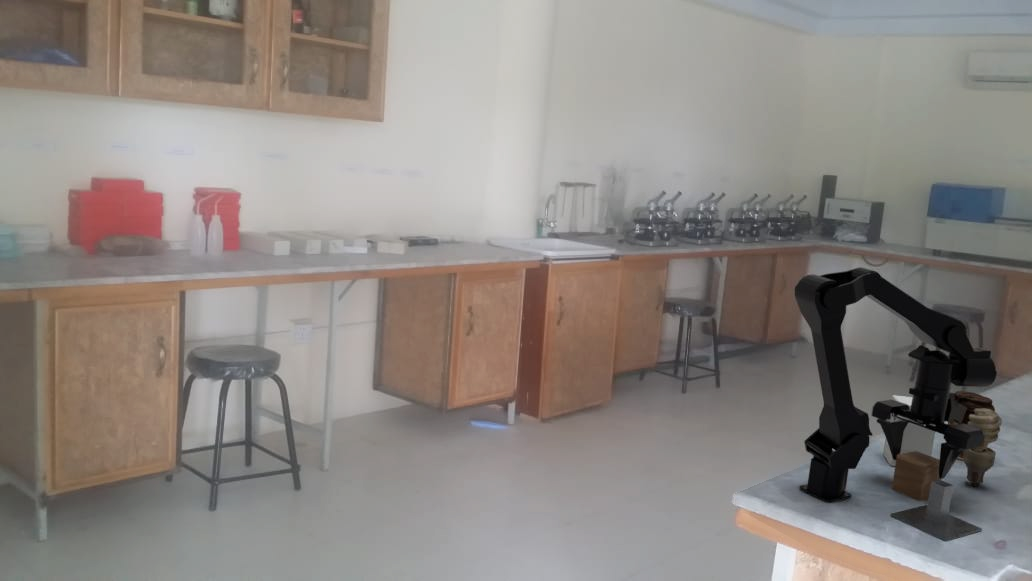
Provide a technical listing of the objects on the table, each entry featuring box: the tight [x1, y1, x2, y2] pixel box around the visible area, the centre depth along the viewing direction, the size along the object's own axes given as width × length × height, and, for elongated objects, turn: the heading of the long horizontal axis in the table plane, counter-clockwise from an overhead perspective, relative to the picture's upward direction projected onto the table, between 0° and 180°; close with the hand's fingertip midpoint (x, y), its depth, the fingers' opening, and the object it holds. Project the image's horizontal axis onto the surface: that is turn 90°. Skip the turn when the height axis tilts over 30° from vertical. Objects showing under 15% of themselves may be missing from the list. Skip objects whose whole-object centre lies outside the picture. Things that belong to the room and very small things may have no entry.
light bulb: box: [962, 408, 1003, 487], centre depth 166 cm, size 6×6×15 cm
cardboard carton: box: [891, 451, 942, 502], centre depth 160 cm, size 6×6×7 cm
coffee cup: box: [947, 390, 996, 461], centre depth 183 cm, size 9×8×13 cm
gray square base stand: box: [889, 479, 983, 542], centre depth 147 cm, size 10×10×7 cm
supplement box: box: [882, 394, 936, 467], centre depth 176 cm, size 7×7×13 cm
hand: (918, 468), depth 160 cm, fingers open, 9 cm apart
